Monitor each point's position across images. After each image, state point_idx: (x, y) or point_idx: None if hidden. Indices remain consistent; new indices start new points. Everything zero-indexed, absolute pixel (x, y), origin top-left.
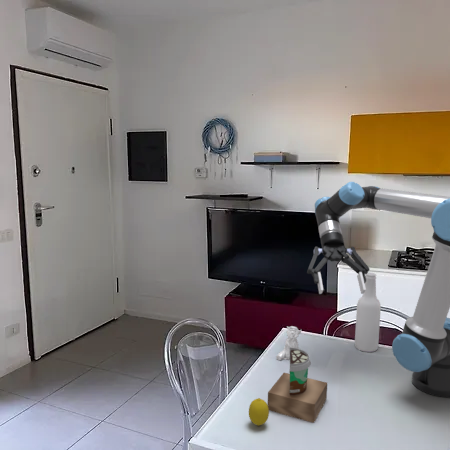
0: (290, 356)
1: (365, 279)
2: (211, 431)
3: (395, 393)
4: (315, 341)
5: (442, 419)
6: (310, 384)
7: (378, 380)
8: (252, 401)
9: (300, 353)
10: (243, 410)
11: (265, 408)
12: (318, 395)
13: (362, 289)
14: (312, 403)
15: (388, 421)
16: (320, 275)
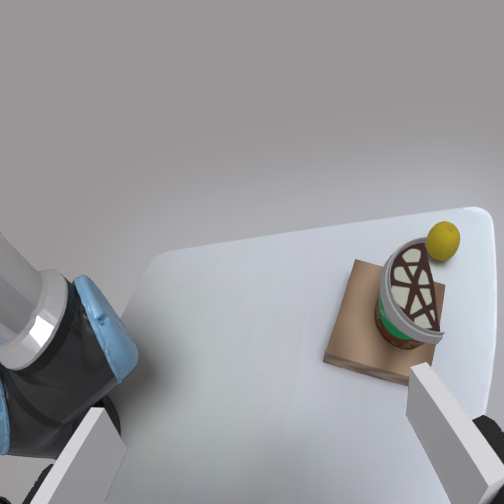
0: (434, 288)
1: (44, 475)
2: (484, 231)
3: (166, 401)
4: None
5: (125, 317)
6: (365, 336)
7: (185, 456)
8: (458, 232)
9: (412, 317)
10: (467, 290)
11: (434, 226)
12: (348, 292)
13: (107, 431)
14: (359, 261)
15: (215, 301)
16: (474, 453)
